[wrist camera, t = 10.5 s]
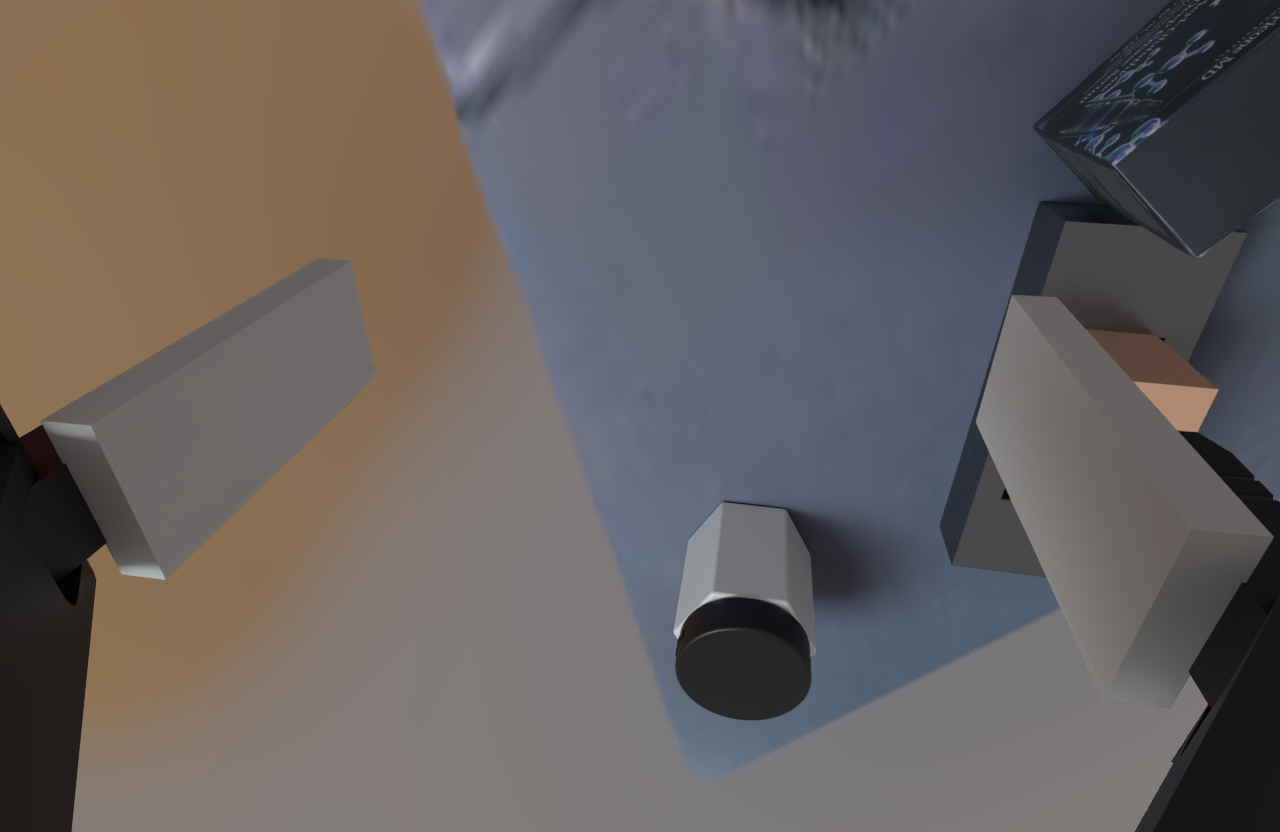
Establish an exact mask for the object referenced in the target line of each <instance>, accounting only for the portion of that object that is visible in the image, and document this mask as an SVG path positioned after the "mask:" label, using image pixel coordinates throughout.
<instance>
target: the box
mask: <svg viewBox="0 0 1280 832" xmlns="http://www.w3.org/2000/svg"><path fill="white" fill-rule="evenodd" d="M1034 129H1035V131H1036V132H1037V133H1038V134H1039V135H1040V136H1041V137H1042V138H1043V139H1044V140H1045V142H1046V143H1047V144H1048V145H1049V146H1050V147H1051V148H1052V149H1053V150H1054V151H1055V152H1056V153H1057V155H1058V156H1059V157H1060V158H1061V159H1062V160H1063V161H1064V162H1065V164H1066V165H1067V166H1068V167H1069V168H1070V169H1071V170H1072V172H1073V173H1074V174H1075V175H1076V176H1077V177H1078V178H1079V179H1080V180H1081V182H1082V183H1083V184H1084V185H1085V186H1086V187H1087V188H1088V189H1089V191H1090V192H1091V193H1092V194H1093V195H1094V196H1095V198H1096V199H1098V200H1100V201H1102V202H1103V203H1105V204H1106V205H1108V206H1110V207H1112V208H1113V209H1115V210H1116V211H1118V212H1120V213H1121V214H1122V215H1124V216H1125V217H1127V218H1129V219H1131V220H1132V221H1133V222H1135V223H1136V224H1139V225H1140V226H1142V227H1143V228H1145V229H1147V230H1149V231H1150V232H1151V233H1153V234H1155V235H1157V236H1158V237H1160V238H1161V239H1163V240H1164V241H1165V242H1167V243H1169V244H1170V245H1172V246H1173V247H1175V248H1177V249H1179V250H1180V251H1182V252H1184V253H1186V254H1187V255H1189V256H1191V257H1196V258H1197V257H1201V256H1203V255H1204V254H1205V253H1206V252H1207V251H1209V250H1210V249H1211V248H1212V247H1213V246H1215V245H1216V244H1217V243H1219V242H1220V241H1221V240H1223V239H1224V238H1225V237H1227V236H1228V235H1229V234H1231V233H1232V232H1233V231H1235V230H1236V229H1237V228H1239V227H1240V226H1241V225H1242V224H1244V223H1245V222H1247V221H1248V220H1250V219H1251V218H1252V217H1254V216H1255V215H1257V214H1258V213H1259V212H1261V211H1262V210H1264V209H1265V208H1266V207H1268V206H1269V205H1270V204H1272V203H1273V202H1274V201H1276V200H1277V199H1278V198H1280V0H1173V1H1172V2H1170V3H1169V4H1168V5H1167V6H1166V7H1165V8H1164V9H1163V10H1162V11H1160V12H1159V13H1158V14H1157V15H1156V16H1155V17H1154V18H1153V19H1152V20H1150V21H1149V22H1148V23H1147V24H1146V25H1145V26H1144V27H1143V28H1141V29H1140V30H1139V31H1138V32H1137V33H1136V34H1135V35H1134V36H1133V37H1132V38H1131V39H1129V40H1128V41H1127V42H1126V43H1125V44H1124V45H1123V46H1121V47H1120V48H1119V49H1118V50H1117V51H1116V52H1115V53H1114V54H1113V55H1112V56H1111V57H1110V58H1109V59H1108V60H1106V61H1105V62H1104V63H1103V64H1102V65H1100V66H1099V67H1098V68H1097V69H1096V70H1095V71H1094V72H1093V73H1092V74H1090V75H1089V77H1088V78H1086V79H1085V80H1084V81H1083V82H1082V83H1081V84H1080V85H1079V86H1077V87H1076V88H1075V89H1074V90H1073V91H1072V92H1071V93H1070V94H1068V95H1067V96H1066V97H1065V98H1064V99H1062V100H1061V101H1060V102H1059V103H1058V104H1057V105H1056V106H1055V107H1054V108H1053V109H1052V110H1051V111H1049V112H1048V113H1047V114H1046V115H1044V116H1043V117H1042V118H1041V119H1040V120H1039V121H1038V122H1037V123H1035V125H1034Z"/></svg>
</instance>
